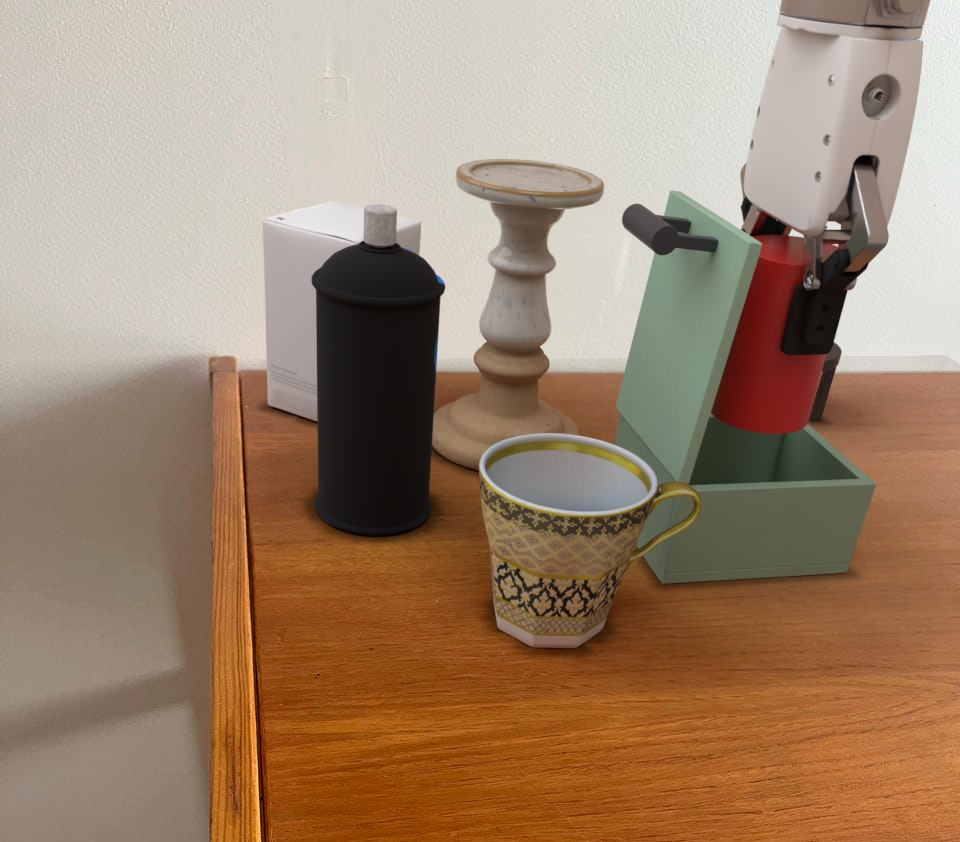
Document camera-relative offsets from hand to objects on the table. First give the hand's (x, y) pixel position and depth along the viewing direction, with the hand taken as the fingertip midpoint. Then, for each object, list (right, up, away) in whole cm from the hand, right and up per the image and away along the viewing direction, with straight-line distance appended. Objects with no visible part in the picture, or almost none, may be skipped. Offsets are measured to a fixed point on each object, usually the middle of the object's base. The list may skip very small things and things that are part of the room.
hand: (777, 329), depth 65 cm
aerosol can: (-26, -10, +8) cm, 29 cm away
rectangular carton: (-30, 0, +22) cm, 37 cm away
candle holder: (-17, -4, +18) cm, 25 cm away
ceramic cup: (-13, -18, -2) cm, 23 cm away
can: (0, -5, +3) cm, 6 cm away
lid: (-6, -1, -1) cm, 6 cm away
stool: (+8, +2, +29) cm, 30 cm away
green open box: (-2, -12, +8) cm, 15 cm away
